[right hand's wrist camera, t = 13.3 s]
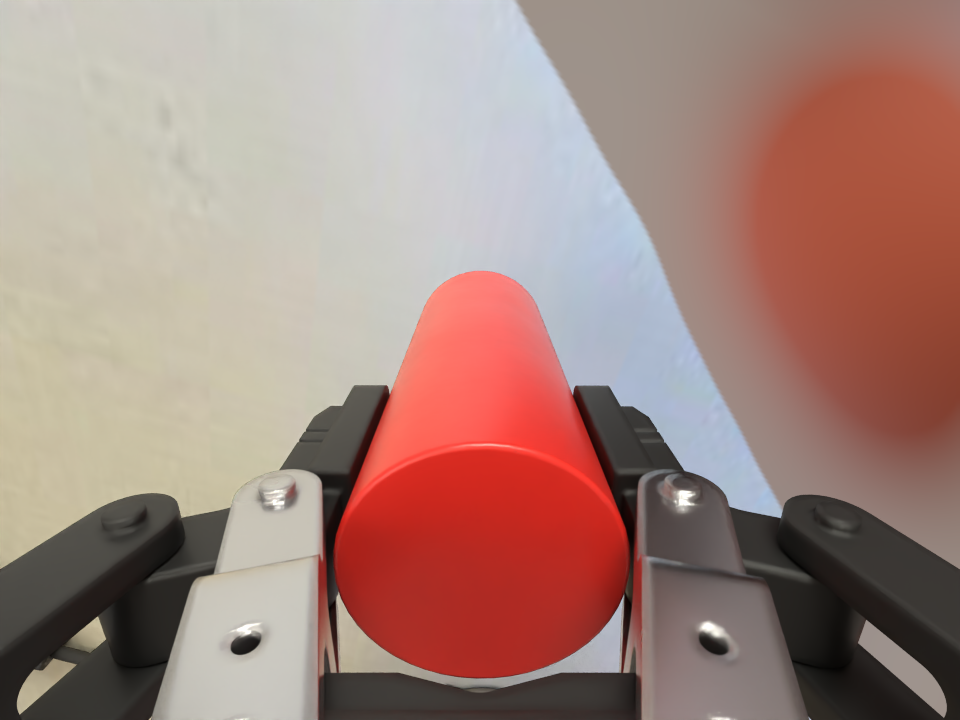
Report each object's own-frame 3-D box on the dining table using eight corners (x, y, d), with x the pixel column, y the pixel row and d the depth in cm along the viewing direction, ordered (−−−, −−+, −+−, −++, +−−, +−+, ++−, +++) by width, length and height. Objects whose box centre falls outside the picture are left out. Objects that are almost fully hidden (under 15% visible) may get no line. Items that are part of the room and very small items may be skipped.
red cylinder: (436, 396, 19) (380, 699, 8) (405, 285, 17) (287, 478, 7) (551, 373, 18) (647, 657, 8) (529, 258, 17) (611, 415, 6)
